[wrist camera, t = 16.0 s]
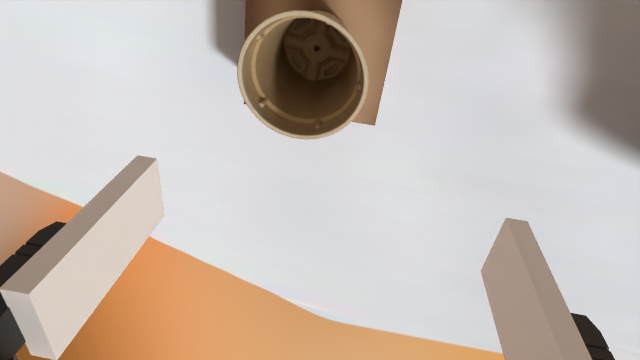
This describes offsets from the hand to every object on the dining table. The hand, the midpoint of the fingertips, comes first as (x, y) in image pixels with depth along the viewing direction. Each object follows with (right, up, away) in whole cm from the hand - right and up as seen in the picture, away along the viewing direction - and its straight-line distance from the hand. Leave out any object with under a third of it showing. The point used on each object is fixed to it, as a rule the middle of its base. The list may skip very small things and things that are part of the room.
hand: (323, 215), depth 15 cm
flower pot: (0, +13, +21) cm, 24 cm away
